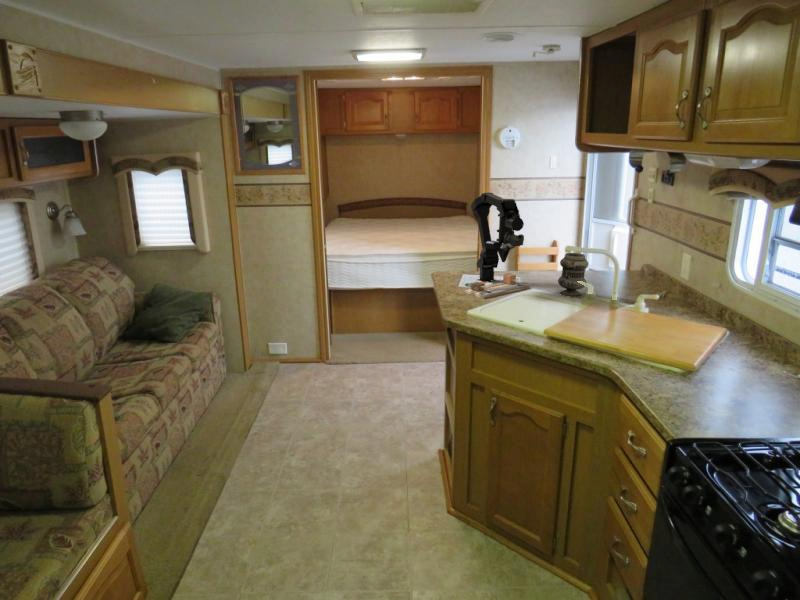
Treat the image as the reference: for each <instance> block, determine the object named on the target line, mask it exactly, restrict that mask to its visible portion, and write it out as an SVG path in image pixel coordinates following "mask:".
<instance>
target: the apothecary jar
mask: <svg viewBox="0 0 800 600" xmlns="http://www.w3.org/2000/svg"><path fill="white" fill-rule="evenodd" d="M559 265H560V266H561V267H562V270H561V276H560V277H559V278H558V279H557V283H558V285H559V286H560V287H562V288H564V289H563V290H560V291H559V293H560V294H561V296H563V295H565V296H564V297H566V296H570V297H569V298H580V297H583V293H582V292H581V291H579V290H581V289H583V288H585V287H586V286H584V285H582V284H580V283H578V282H577V281H583V282H585V283H587V282H588V281H587V279H585V271H586V269H587V268H588V267H589V261H588V259H586V255H585V254H584V253H580V252H567V253H565V254H564V257H563V258H562V259H560V262H559ZM560 294H559V295H560Z"/></svg>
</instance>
